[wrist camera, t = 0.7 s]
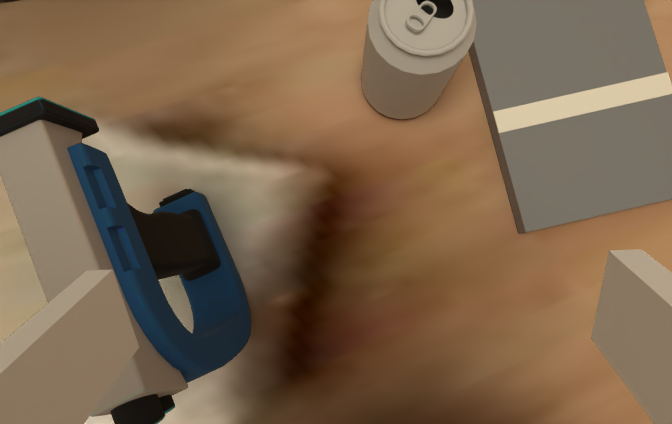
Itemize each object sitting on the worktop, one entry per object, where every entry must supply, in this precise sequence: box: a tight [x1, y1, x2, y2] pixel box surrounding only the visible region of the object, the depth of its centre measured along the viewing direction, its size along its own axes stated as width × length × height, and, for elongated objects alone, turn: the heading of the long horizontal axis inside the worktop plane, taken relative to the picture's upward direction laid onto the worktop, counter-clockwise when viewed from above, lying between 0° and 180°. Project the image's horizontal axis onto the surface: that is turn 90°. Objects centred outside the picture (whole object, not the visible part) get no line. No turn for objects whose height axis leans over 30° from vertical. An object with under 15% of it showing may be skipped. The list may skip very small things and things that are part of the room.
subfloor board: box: [469, 0, 672, 233], centre depth 37 cm, size 24×16×2 cm, turn 13°
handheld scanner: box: [0, 97, 251, 424], centre depth 27 cm, size 5×16×20 cm, turn 25°
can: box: [361, 0, 477, 119], centre depth 32 cm, size 8×8×12 cm
